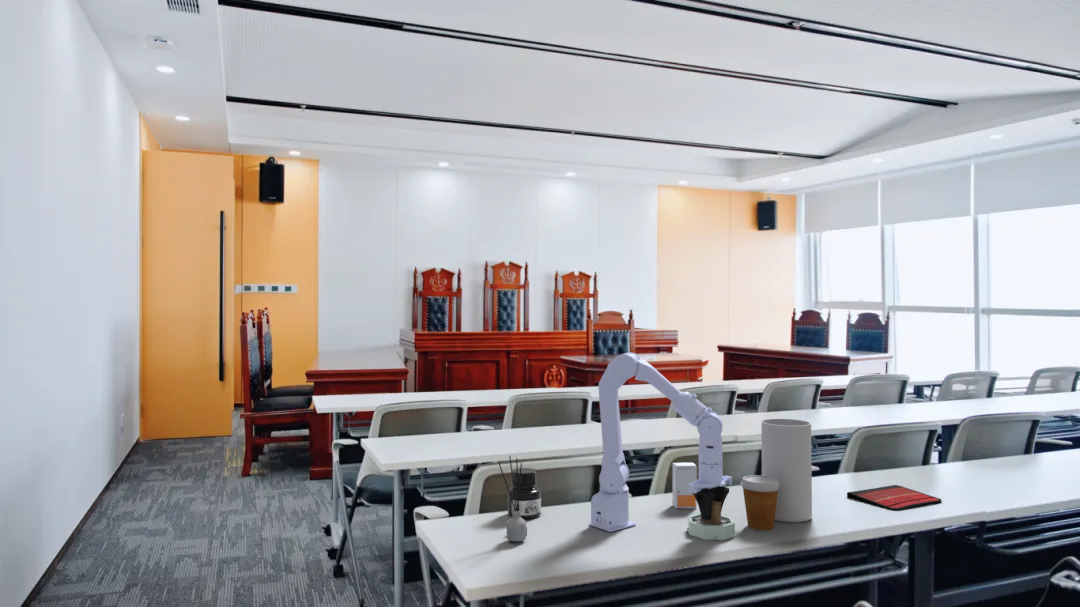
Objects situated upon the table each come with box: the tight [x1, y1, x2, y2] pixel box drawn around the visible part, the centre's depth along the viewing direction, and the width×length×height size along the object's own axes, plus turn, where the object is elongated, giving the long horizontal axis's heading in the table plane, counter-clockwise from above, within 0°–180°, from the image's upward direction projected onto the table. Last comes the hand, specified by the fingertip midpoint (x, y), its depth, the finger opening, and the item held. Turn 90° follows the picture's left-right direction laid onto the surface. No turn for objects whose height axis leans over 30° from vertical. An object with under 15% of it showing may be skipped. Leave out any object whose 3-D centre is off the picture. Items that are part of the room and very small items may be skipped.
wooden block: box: [701, 500, 722, 526], centre depth 174 cm, size 2×4×7 cm, turn 39°
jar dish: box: [686, 513, 736, 541], centre depth 174 cm, size 11×11×3 cm
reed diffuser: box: [497, 455, 528, 542], centre depth 168 cm, size 10×7×20 cm
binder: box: [846, 484, 942, 512], centre depth 204 cm, size 16×2×21 cm
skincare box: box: [671, 462, 698, 510], centre depth 197 cm, size 6×4×12 cm
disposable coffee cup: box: [740, 474, 780, 531], centre depth 179 cm, size 10×10×12 cm
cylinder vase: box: [761, 418, 813, 523], centre depth 188 cm, size 12×12×25 cm
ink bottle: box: [507, 467, 542, 520], centre depth 190 cm, size 10×9×12 cm
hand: (710, 517), depth 174 cm, fingers open, 3 cm apart
